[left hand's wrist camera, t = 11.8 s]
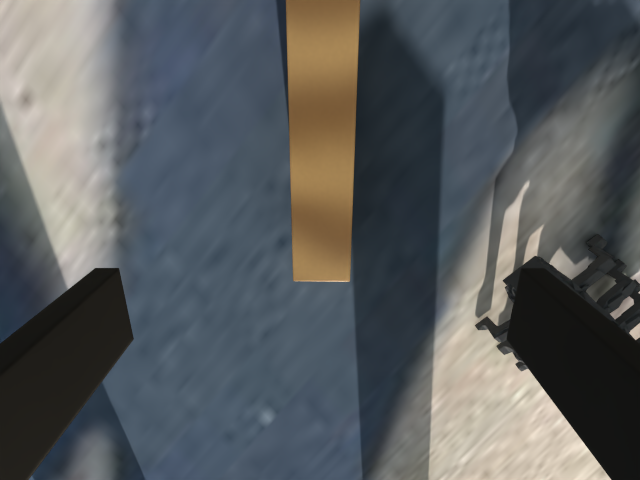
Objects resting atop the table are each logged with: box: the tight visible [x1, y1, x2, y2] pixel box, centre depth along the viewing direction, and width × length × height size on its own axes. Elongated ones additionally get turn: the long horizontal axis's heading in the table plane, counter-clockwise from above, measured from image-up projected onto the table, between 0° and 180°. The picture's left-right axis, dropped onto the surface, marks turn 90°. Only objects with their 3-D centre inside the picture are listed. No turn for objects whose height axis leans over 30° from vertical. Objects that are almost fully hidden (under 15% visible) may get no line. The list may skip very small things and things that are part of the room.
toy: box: [475, 234, 640, 371], centre depth 28 cm, size 13×27×18 cm, turn 46°
